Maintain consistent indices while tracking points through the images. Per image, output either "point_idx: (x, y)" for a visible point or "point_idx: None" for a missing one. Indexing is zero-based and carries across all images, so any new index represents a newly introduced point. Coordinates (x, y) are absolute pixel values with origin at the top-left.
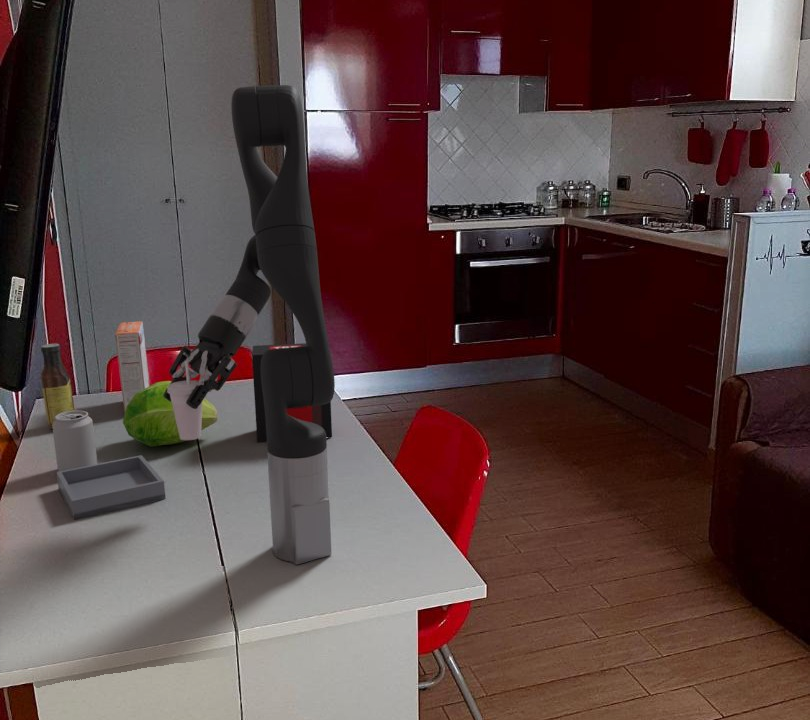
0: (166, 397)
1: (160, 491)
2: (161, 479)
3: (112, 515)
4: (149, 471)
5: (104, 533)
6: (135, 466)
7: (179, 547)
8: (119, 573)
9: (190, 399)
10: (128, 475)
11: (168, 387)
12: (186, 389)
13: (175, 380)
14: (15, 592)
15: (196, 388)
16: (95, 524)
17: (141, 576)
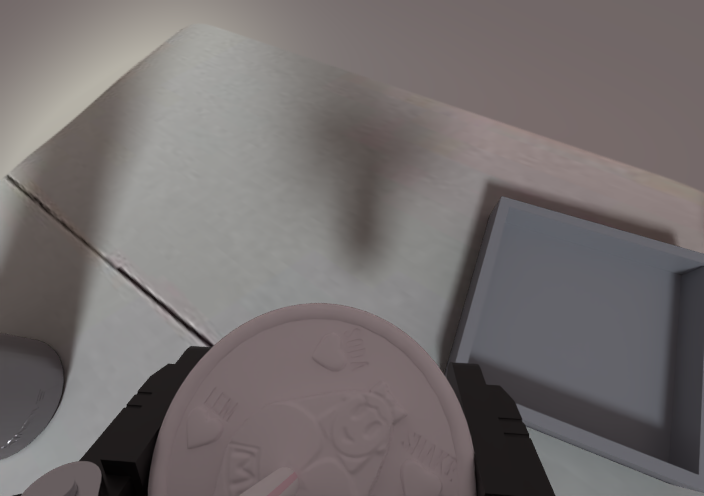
0: (448, 369)
1: None
2: None
3: (450, 268)
4: (556, 419)
5: (389, 218)
6: (676, 457)
7: (229, 264)
8: (249, 165)
9: (179, 360)
10: (635, 412)
11: (368, 317)
12: (196, 364)
13: (480, 482)
14: (327, 72)
15: (133, 432)
16: (437, 228)
17: (213, 178)
